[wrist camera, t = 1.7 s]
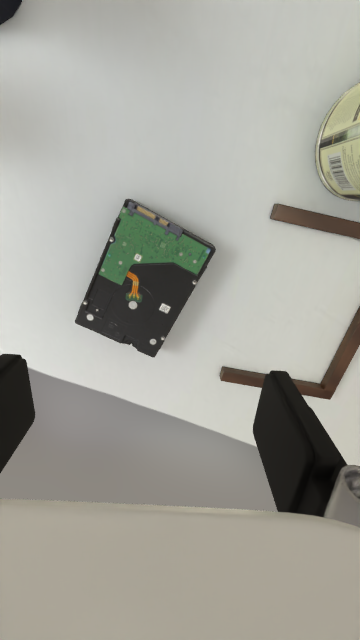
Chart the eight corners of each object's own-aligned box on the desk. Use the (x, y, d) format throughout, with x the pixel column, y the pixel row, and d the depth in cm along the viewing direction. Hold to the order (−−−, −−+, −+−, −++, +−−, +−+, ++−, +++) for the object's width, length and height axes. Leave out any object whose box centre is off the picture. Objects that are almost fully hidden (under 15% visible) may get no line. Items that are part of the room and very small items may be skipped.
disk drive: (157, 347, 36) (214, 243, 31) (155, 359, 34) (218, 248, 28) (81, 314, 34) (127, 196, 29) (73, 324, 32) (122, 197, 26)
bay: (274, 203, 29) (278, 203, 28) (409, 235, 30) (418, 236, 29) (219, 375, 38) (220, 380, 37) (326, 394, 39) (330, 399, 38)
